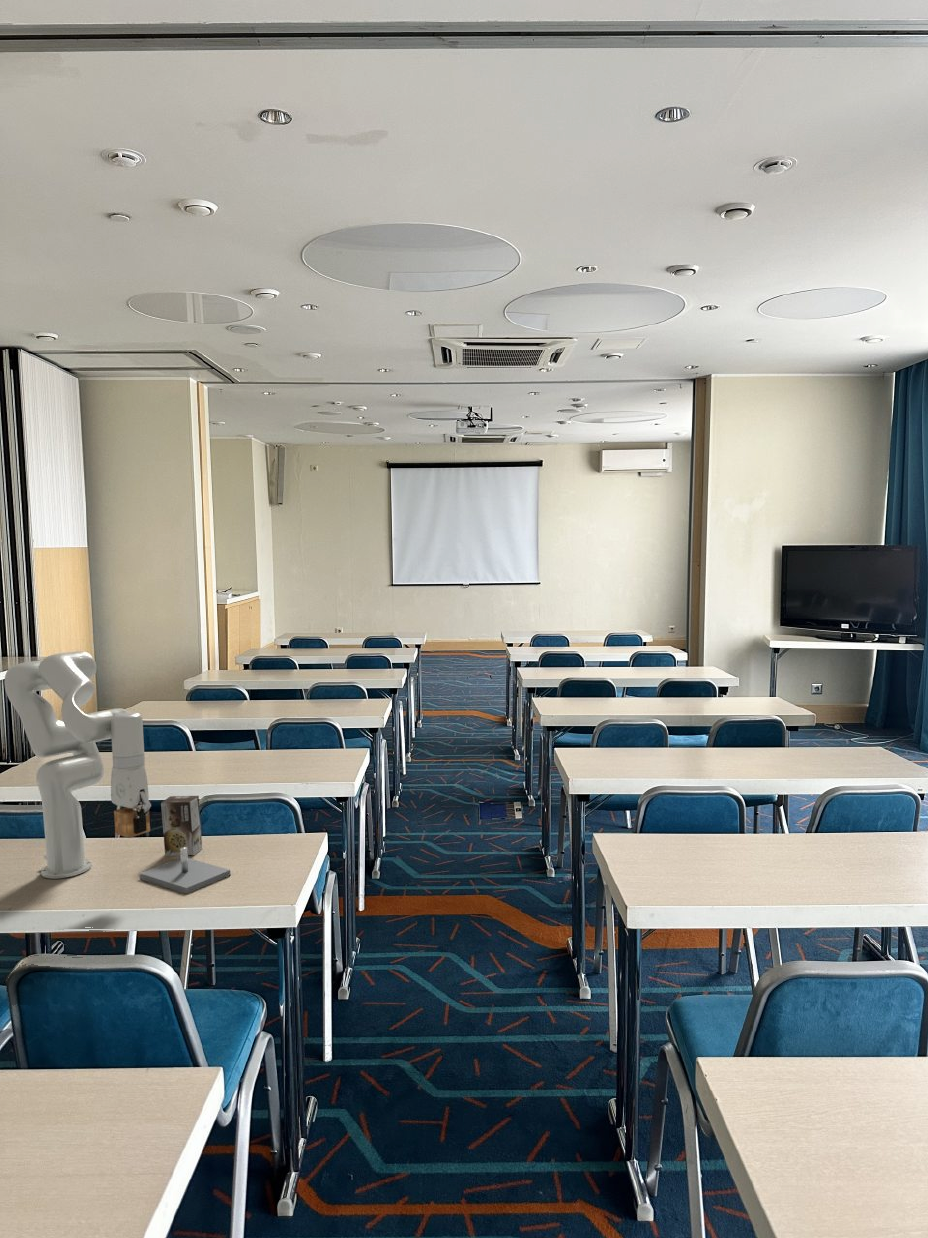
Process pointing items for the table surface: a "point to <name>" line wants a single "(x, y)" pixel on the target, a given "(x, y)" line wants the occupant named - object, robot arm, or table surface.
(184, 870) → the rod
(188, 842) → the coffee box
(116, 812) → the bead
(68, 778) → the robot arm
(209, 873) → the grey rectangular slab
